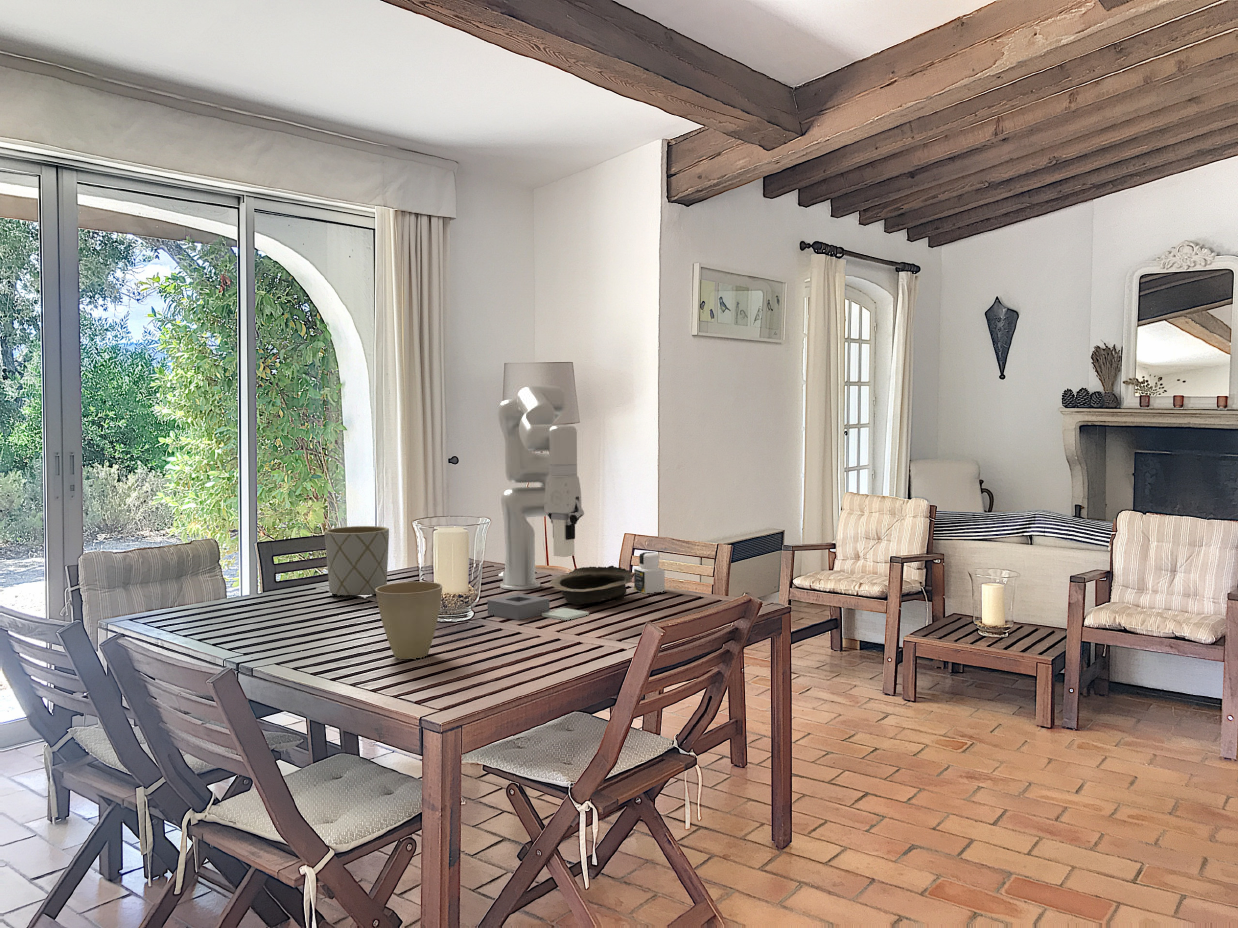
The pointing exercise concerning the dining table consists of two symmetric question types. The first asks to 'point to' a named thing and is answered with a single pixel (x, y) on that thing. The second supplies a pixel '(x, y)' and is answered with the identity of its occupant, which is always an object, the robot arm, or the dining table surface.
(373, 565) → the planter
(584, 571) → the stone bowl
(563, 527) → the plug
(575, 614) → the coaster
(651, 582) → the medicine bottle
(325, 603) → the dining table surface
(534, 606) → the grey square ring
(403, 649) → the plant pot
